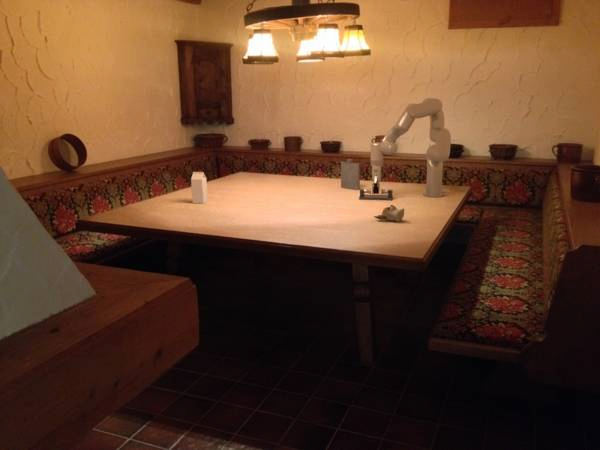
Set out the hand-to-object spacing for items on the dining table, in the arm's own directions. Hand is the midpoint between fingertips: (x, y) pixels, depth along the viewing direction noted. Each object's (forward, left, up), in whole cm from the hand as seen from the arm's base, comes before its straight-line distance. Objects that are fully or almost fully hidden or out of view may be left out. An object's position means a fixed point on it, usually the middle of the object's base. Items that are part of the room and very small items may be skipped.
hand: (376, 192), depth 327 cm
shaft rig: (0, 0, -4) cm, 4 cm away
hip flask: (+20, -30, -4) cm, 36 cm away
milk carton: (+106, +24, -4) cm, 109 cm away
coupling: (0, 0, -1) cm, 1 cm away
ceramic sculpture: (-12, +53, -4) cm, 54 cm away
